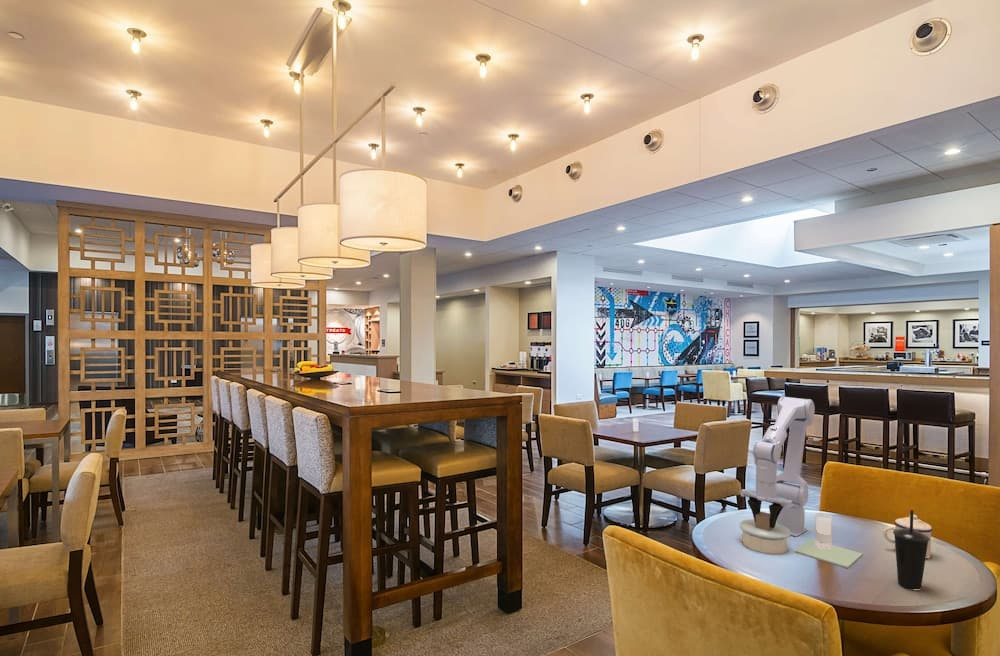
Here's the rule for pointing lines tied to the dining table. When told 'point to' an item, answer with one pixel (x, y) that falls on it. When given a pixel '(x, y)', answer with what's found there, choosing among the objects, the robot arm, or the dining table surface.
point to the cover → (764, 527)
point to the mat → (830, 554)
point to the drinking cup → (910, 555)
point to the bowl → (764, 544)
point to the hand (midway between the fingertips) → (764, 524)
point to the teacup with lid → (917, 525)
